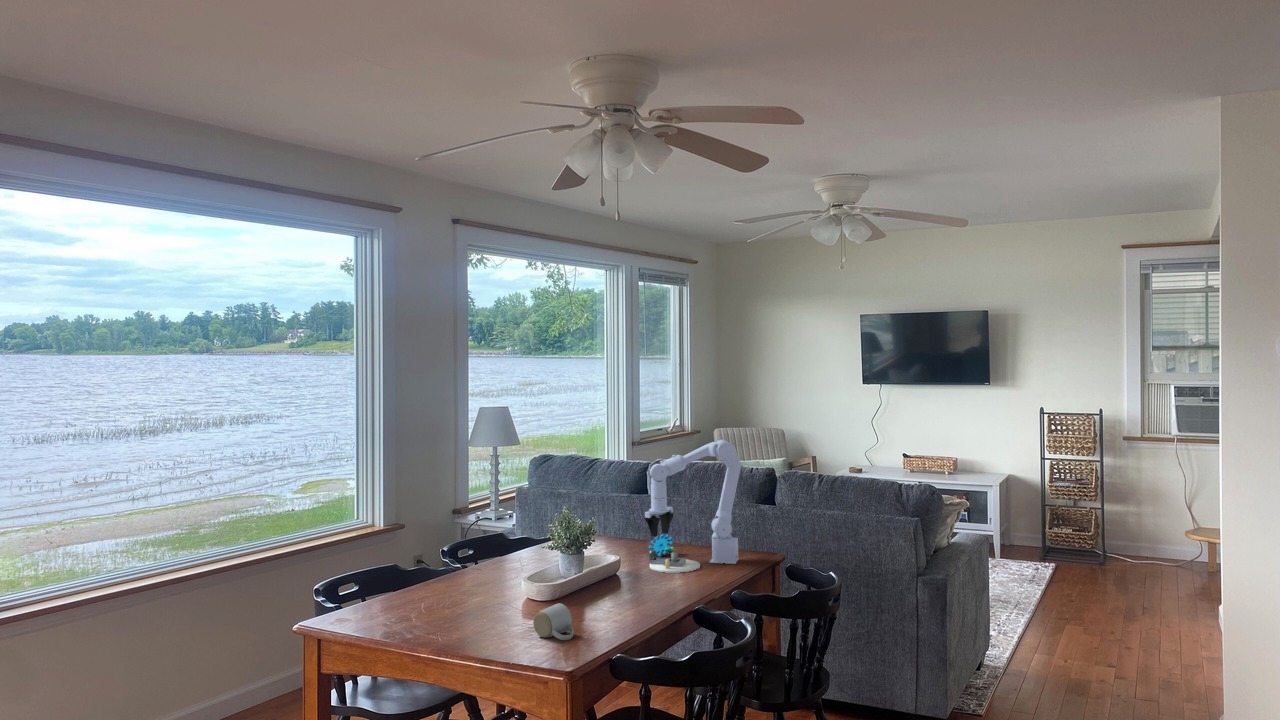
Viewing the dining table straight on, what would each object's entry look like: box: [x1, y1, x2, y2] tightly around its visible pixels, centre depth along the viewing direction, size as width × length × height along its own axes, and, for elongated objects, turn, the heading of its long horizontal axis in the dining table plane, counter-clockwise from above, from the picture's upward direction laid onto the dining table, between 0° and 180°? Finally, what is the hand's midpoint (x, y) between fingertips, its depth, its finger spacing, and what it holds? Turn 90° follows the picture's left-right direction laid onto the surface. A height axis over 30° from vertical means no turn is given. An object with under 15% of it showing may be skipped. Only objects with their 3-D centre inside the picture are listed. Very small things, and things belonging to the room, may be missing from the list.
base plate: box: [649, 551, 701, 574], centre depth 310 cm, size 18×18×5 cm
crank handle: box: [649, 549, 687, 566], centre depth 311 cm, size 13×7×4 cm, turn 75°
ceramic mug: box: [532, 603, 575, 641], centre depth 233 cm, size 11×8×8 cm
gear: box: [648, 533, 675, 558], centre depth 331 cm, size 11×6×10 cm
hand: (659, 534), depth 316 cm, fingers open, 6 cm apart
